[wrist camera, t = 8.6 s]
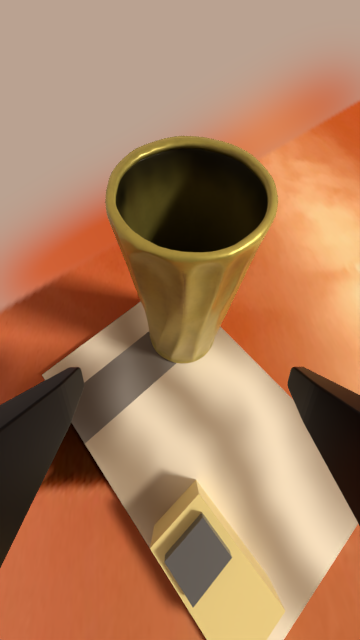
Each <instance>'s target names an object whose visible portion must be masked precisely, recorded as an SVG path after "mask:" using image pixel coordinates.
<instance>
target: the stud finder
mask: <svg viewBox="0 0 360 640" xmlns="http://www.w3.org/2000/svg"><path fill="white" fill-rule="evenodd" d="M150 549H151V551H152V553H153V554H154V556H155V558H156V559H157V561H158V562H159V564H160V566H161V567H162V569H163V570H164V572H165V574H166V575H167V577H168V578H169V580H170V582H171V583H172V585H173V586H174V588H175V590H176V591H177V593H178V594H179V596H180V598H181V599H182V601H183V602H184V604H185V606H186V607H187V609H188V611H189V612H190V614H191V615H192V617H193V619H194V620H195V622H196V623H197V625H198V627H199V628H200V630H201V631H202V633H203V635H204V636H205V638H206V639H207V640H267V639H268V637H269V635H270V634H271V632H272V631H273V629H274V628H275V626H276V625H277V623H278V622H279V620H280V619H281V617H282V616H283V614H284V613H285V609H284V607H283V605H282V603H281V601H280V599H279V597H278V595H277V593H276V591H275V589H274V587H273V585H272V583H271V581H270V579H269V577H268V575H267V574H266V573H265V571H264V570H263V569H262V567H261V566H260V565H259V563H258V562H257V561H256V559H255V558H254V557H253V555H252V554H251V553H250V551H249V550H248V549H247V547H246V546H245V544H244V543H243V542H242V540H241V539H240V538H239V536H238V535H237V534H236V532H235V531H234V530H233V528H232V527H231V526H230V524H229V523H228V522H227V520H226V519H225V518H224V516H223V515H222V514H221V512H220V511H219V510H218V508H217V507H216V506H215V504H214V503H213V502H212V500H211V499H210V498H209V496H208V495H207V494H206V492H205V491H204V490H203V488H202V487H201V486H200V484H199V483H198V482H197V480H195V481H194V482H193V483H192V484H191V486H190V487H189V488H188V489H187V490H186V491H185V492H184V493H183V494H182V495H181V496H180V498H179V499H178V500H177V501H176V502H175V503H174V504H173V505H172V506H171V507H170V508H169V510H168V511H167V512H166V513H165V514H164V515H163V516H162V517H161V518H160V519H159V520H158V522H157V523H156V524H155V525H154V529H153V535H152V540H151V545H150Z"/></svg>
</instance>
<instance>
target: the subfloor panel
mask: <svg viewBox="0 0 360 640" xmlns="http://www.w3.org/2000/svg"><path fill="white" fill-rule="evenodd" d="M69 367H79V368H81V371H82V375H83V380H84V389H83V391H82V394H81V397H80V400H79V402H78V405H77V408H76V411H75V413H74V416H73V419H72V421H71V423H72V424H73V426H74V427H75V429H76V431H77V432H78V434H79V435H80V437H81V439H82V440H83V442H84V443H85V445H86V447H87V448H88V450H89V451H90V453H91V455H92V456H93V458H94V459H95V461H96V463H97V464H98V466H99V467H100V469H101V471H102V472H103V474H104V476H105V477H106V479H107V480H108V482H109V484H110V485H111V487H112V488H113V490H114V492H115V493H116V495H117V496H118V498H119V500H120V501H121V503H122V504H123V506H124V508H125V509H126V511H127V512H128V514H129V516H130V517H131V519H132V520H133V522H134V524H135V525H136V527H137V529H138V530H139V532H140V533H141V535H142V537H143V538H144V540H145V541H146V543H147V545H148V546H149V548H150V545H151V540H152V535H153V529H154V525H155V524H156V523H157V522H158V520H159V519H160V518H161V517H162V516H163V515H164V514H165V513H166V512H167V511H168V510H169V508H170V507H171V506H172V505H173V504H174V503H175V502H176V501H177V500H178V499H179V498H180V496H181V495H182V494H183V493H184V492H185V491H186V490H187V489H188V488H189V487H190V486H191V484H192V483H193V482H194V481H195V480H197V482H198V483H199V484H200V486H201V487H202V488H203V490H204V491H205V492H206V494H207V495H208V496H209V498H210V499H211V500H212V502H213V503H214V504H215V506H216V507H217V508H218V510H219V511H220V512H221V514H222V515H223V516H224V518H225V519H226V520H227V522H228V523H229V524H230V526H231V527H232V528H233V530H234V531H235V532H236V534H237V535H238V536H239V538H240V539H241V540H242V542H243V543H244V544H245V546H246V547H247V549H248V550H249V551H250V553H251V554H252V555H253V557H254V558H255V559H256V561H257V562H258V563H259V565H260V566H261V567H262V569H263V570H264V571H265V573H266V574H267V575H268V577H269V579H270V581H271V583H272V585H273V587H274V589H275V591H276V593H277V595H278V597H279V599H280V601H281V603H282V605H283V607H284V609H285V613H284V614H283V616H282V617H281V619H280V620H279V622H278V623H277V625H276V626H275V628H274V629H273V631H272V632H271V634H270V635H269V637H268V639H267V640H284V638H285V637H286V635H287V634H288V632H289V630H290V629H291V627H292V626H293V624H294V623H295V621H296V620H297V618H298V616H299V615H300V613H301V612H302V610H303V609H304V607H305V606H306V604H307V602H308V601H309V599H310V598H311V596H312V595H313V593H314V591H315V590H316V588H317V587H318V585H319V584H320V582H321V581H322V579H323V577H324V576H325V574H326V573H327V571H328V570H329V568H330V566H331V565H332V563H333V562H334V560H335V559H336V557H337V556H338V554H339V552H340V551H341V549H342V548H343V546H344V545H345V543H346V542H347V540H348V538H349V537H350V535H351V534H352V532H353V531H354V529H355V527H356V526H357V524H358V522H357V520H356V518H355V517H354V515H353V513H352V511H351V509H350V507H349V506H348V504H347V502H346V500H345V498H344V496H343V495H342V493H341V491H340V489H339V487H338V485H337V484H336V482H335V480H334V478H333V476H332V474H331V473H330V471H329V469H328V467H327V465H326V463H325V462H324V460H323V458H322V456H321V454H320V452H319V451H318V449H317V447H316V445H315V443H314V441H313V440H312V438H311V436H310V434H309V432H308V430H307V429H306V427H305V425H304V423H303V421H302V419H301V417H300V414H299V412H298V410H297V407H296V405H295V402H294V400H293V399H292V398H291V397H290V396H289V395H288V394H287V393H286V392H285V391H284V390H283V389H282V388H281V387H280V386H279V385H278V384H277V383H276V382H275V381H274V380H273V379H272V378H271V377H270V376H269V375H268V374H267V373H266V372H265V371H264V370H263V369H262V368H261V367H260V366H259V365H258V364H257V363H256V362H255V361H254V360H253V359H252V358H251V357H250V356H249V355H248V354H247V353H246V352H245V351H244V350H243V349H242V348H241V347H240V346H239V345H238V344H237V343H236V342H235V341H234V340H233V339H232V338H231V337H230V336H229V335H228V334H227V333H226V332H225V331H224V330H223V329H222V328H221V327H220V328H219V330H218V332H217V334H216V336H215V338H214V342H213V345H212V347H211V348H210V350H209V351H208V353H207V354H206V355H205V356H203V357H202V358H200V359H199V360H197V361H195V362H192V363H174V362H171V361H169V360H167V359H165V358H163V357H162V356H161V355H160V354H158V353H157V352H156V350H155V348H154V347H153V345H152V342H151V339H150V332H149V327H148V322H147V317H146V313H145V310H144V307H143V305H142V303H141V302H139V303H138V304H137V305H135V306H134V307H133V308H131V309H130V310H129V311H127V312H126V313H124V314H123V315H122V316H120V317H119V318H118V319H116V320H115V321H114V322H112V323H111V324H110V325H108V326H107V327H106V328H104V329H103V330H102V331H100V332H99V333H98V334H96V335H95V336H93V337H92V338H91V339H89V340H88V341H87V342H85V343H84V344H83V345H81V346H80V347H79V348H77V349H76V350H75V351H73V352H72V353H71V354H69V355H68V356H67V357H65V358H64V359H63V360H61V361H60V362H58V363H57V364H56V365H54V366H53V367H52V368H50V369H49V370H48V371H46V372H45V373H44V374H42V376H43V378H44V379H45V380H47V379H49V378H51V377H52V376H54V375H56V374H58V373H60V372H62V371H63V370H65V369H67V368H69Z"/></svg>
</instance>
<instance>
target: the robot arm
mask: <svg viewBox="0 0 360 640" xmlns="http://www.w3.org/2000/svg"><path fill="white" fill-rule="evenodd" d="M288 388H289V391H290V393H291V395H292V398H293V400H294V402H295V405H296V407H297V410H298V412H299V414H300V417H301V419H302V421H303V423H304V425H305V427H306V429H307V430H308V432H309V434H310V436H311V438H312V440H313V441H314V443H315V445H316V447H317V449H318V451H319V452H320V454H321V456H322V458H323V460H324V462H325V463H326V465H327V467H328V469H329V471H330V473H331V474H332V476H333V478H334V480H335V482H336V484H337V485H338V487H339V489H340V491H341V493H342V495H343V496H344V498H345V500H346V502H347V504H348V506H349V507H350V509H351V511H352V513H353V515H354V517H355V518H356V520H357V522H358V524H359V526H360V395H358V394H356V393H354V392H352V391H350V390H348V389H346V388H344V387H342V386H340V385H338V384H336V383H334V382H332V381H330V380H328V379H326V378H324V377H322V376H320V375H318V374H316V373H314V372H312V371H310V370H308V369H306V368H304V367H293V368H292V369H291V372H290V375H289V379H288ZM83 389H84V380H83V375H82V371H81V368H79V367H69V368H67V369H65V370H63V371H62V372H60V373H58V374H56V375H54V376H52V377H51V378H49V379H47V380H45V381H43V382H41V383H40V384H38V385H36V386H34V387H32V388H31V389H29V390H27V391H25V392H23V393H21V394H20V395H18V396H16V397H14V398H12V399H10V400H9V401H7V402H5V403H3V404H1V405H0V568H1V566H2V563H3V561H4V559H5V557H6V555H7V553H8V551H9V549H10V547H11V545H12V543H13V541H14V539H15V537H16V535H17V533H18V531H19V529H20V526H21V524H22V522H23V520H24V518H25V516H26V514H27V512H28V510H29V508H30V506H31V504H32V502H33V500H34V498H35V496H36V494H37V492H38V490H39V487H40V485H41V483H42V481H43V479H44V477H45V475H46V473H47V471H48V469H49V467H50V465H51V463H52V461H53V459H54V457H55V455H56V453H57V450H58V448H59V446H60V444H61V442H62V440H63V438H64V436H65V434H66V432H67V430H68V428H69V426H70V424H71V421H72V419H73V416H74V413H75V411H76V408H77V405H78V402H79V400H80V397H81V394H82V391H83Z"/></svg>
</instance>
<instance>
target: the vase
mask: <svg viewBox="0 0 360 640" xmlns="http://www.w3.org/2000/svg"><path fill="white" fill-rule="evenodd" d="M105 203H106V210H107V216H108V219H109V221H110V224H111V227H112V229H113V232H114V234H115V236H116V239H117V242H118V244H119V247H120V249H121V252H122V254H123V257H124V259H125V261H126V264H127V266H128V269H129V272H130V274H131V277H132V280H133V283H134V285H135V288H136V290H137V293H138V296H139V298H140V301H141V303H142V305H143V307H144V310H145V313H146V317H147V322H148V327H149V332H150V339H151V342H152V345H153V347H154V348H155V350H156V352H157V353H158V354H160V355H161V356H162V357H163V358H165V359H167V360H169V361H171V362H174V363H192V362H195V361H197V360H199V359H200V358H202V357H203V356H205V355H206V354H207V353H208V351H209V350H210V348H211V347H212V345H213V342H214V338H215V336H216V334H217V332H218V330H219V328H220V325H221V323H222V321H223V319H224V317H225V315H226V313H227V311H228V309H229V307H230V305H231V303H232V301H233V299H234V297H235V295H236V293H237V291H238V289H239V286H240V284H241V282H242V280H243V278H244V276H245V274H246V272H247V270H248V268H249V266H250V264H251V262H252V260H253V258H254V256H255V254H256V252H257V250H258V248H259V246H260V244H261V242H262V240H263V239H264V237H265V235H266V233H267V232H268V230H269V228H270V226H271V224H272V223H273V221H274V218H275V216H276V212H277V206H278V195H277V190H276V186H275V183H274V180H273V178H272V177H271V175H270V174H269V172H268V171H267V170H266V168H265V167H264V166H263V165H262V164H261V163H260V162H259V161H258V160H257V159H256V158H255V157H254V156H253V155H251V154H250V153H248V152H247V151H245V150H243V149H241V148H239V147H237V146H234V145H232V144H229V143H225V142H223V141H219V140H214V139H209V138H204V137H194V136H178V137H177V136H176V137H170V138H165V139H161V140H158V141H155V142H152V143H149V144H146V145H143V146H141V147H139V148H136V149H135V150H133V151H132V152H130V153H129V154H128V155H127V156H126V157H125V158H123V159H122V160H121V161H120V162H119V163H118V165H117V166H116V167H115V168H114V170H113V171H112V173H111V175H110V178H109V181H108V186H107V190H106V201H105Z"/></svg>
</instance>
